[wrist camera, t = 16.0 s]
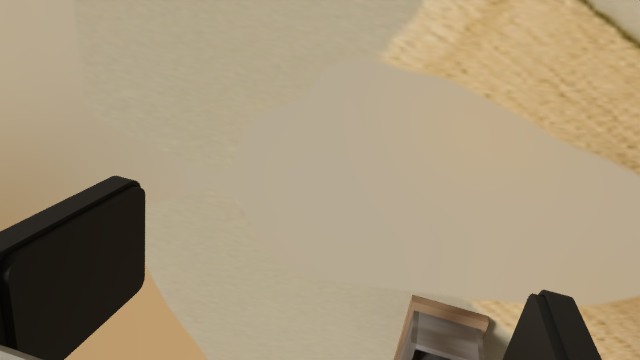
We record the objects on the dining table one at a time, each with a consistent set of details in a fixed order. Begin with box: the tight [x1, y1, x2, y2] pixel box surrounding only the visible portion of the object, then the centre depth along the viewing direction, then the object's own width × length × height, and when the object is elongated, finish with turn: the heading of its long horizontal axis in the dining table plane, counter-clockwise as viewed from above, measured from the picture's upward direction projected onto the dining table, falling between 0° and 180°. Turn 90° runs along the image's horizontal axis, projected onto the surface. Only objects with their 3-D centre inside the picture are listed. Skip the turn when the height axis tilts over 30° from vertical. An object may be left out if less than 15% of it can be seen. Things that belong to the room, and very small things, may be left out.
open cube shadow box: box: [394, 295, 489, 360], centre depth 41 cm, size 7×8×6 cm
